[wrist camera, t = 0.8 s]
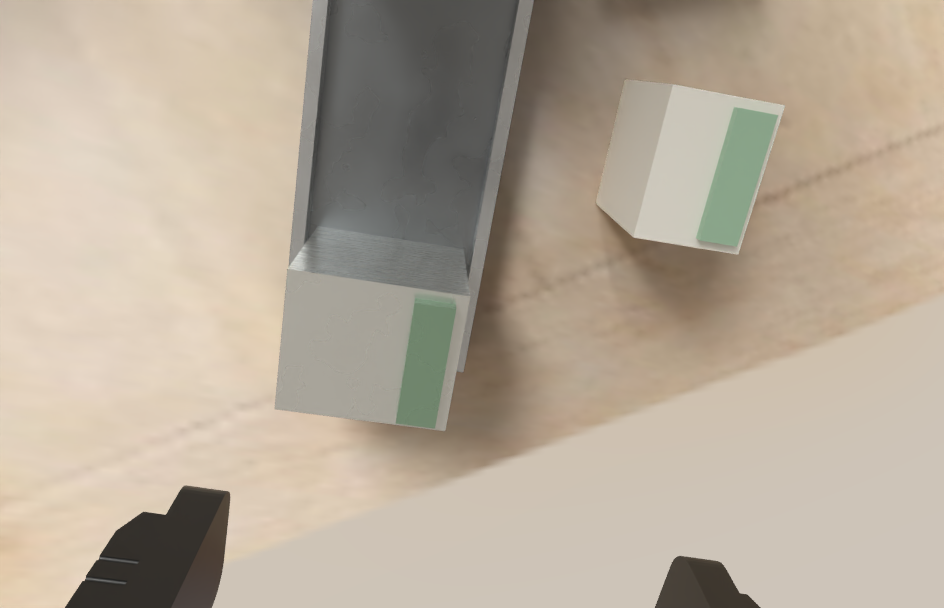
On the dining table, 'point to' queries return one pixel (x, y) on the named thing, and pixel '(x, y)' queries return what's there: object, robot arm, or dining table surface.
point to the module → (686, 164)
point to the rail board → (395, 202)
